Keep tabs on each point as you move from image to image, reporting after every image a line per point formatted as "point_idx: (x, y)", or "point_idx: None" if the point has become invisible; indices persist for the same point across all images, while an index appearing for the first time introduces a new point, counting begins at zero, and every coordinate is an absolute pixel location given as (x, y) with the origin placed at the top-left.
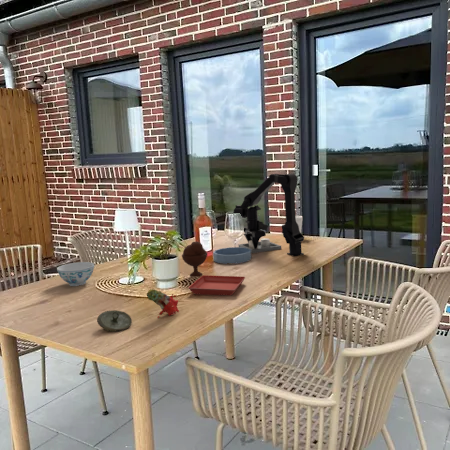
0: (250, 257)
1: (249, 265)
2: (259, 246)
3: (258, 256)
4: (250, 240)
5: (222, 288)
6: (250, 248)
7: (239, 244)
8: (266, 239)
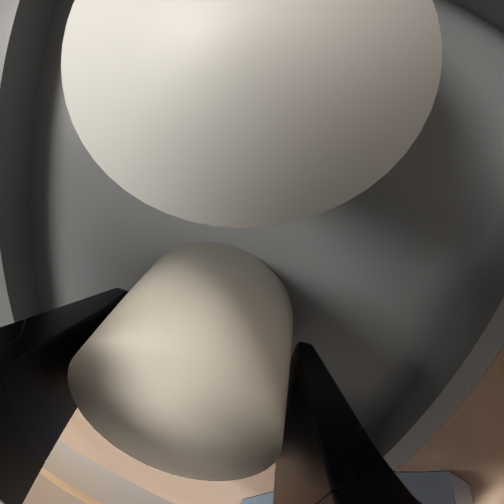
0: (468, 493)
1: (500, 497)
2: None
3: (486, 431)
4: (88, 412)
5: None
6: None
7: None
8: (306, 5)
